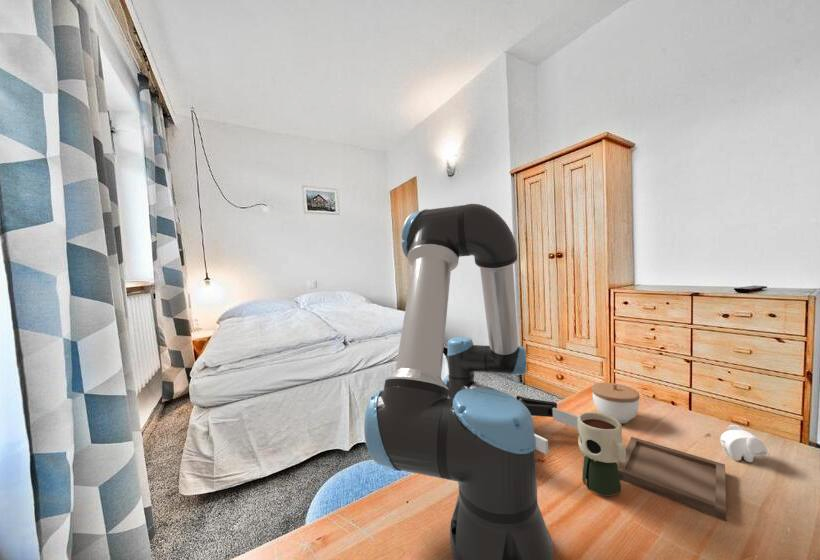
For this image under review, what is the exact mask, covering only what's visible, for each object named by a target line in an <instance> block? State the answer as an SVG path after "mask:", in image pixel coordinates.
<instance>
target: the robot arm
mask: <svg viewBox="0 0 820 560" xmlns="http://www.w3.org/2000/svg"><path fill="white" fill-rule="evenodd" d="M401 238H402V240H401V249H402V252H403V254H404V256H405V258H407V261H408V263H409V264H410V265H411V266H412V268H411V275H410V279H409V280H410V281H409V284H408V285H409V286H408V293H407V298H406V304H405V305H406V306H405V309H404V310H405V311H404V317H403V321H402V330H401V335H400V339H399V346H398V352H397V358H396V364H395V370H394V372H393V373H391V374H389V376H387V377H386V378H385V380H384V386H383V389H381V390H378V391H376V392H374V393H373V394H372V395H371V396H370V400H369V401H368V402H367V405H366V409H365V415H364V421H363V422H364V427H363V430H364V431H363V432H364V440H365V445H366V447H367V451H368V454H369V456H370V457H371V459H372V460H373V462H375V463H376V464H377V465H380V466H383V467H387V468H391V469H393V470H394V471H396V472H402V471H403V472H407V473H408V472H409V473H414V474H418V475H424V476H427V477H434V478H437V479H444V480H450V481H453V482H457V483H458V495H457V499H456V503H455V506H454V509H453V513H452V517H451V520H450V526H449V535H450V539H449V540H450V549H451V554H452V556H453V557H452V558H453V559H455V560H554V553H553V542H552V539H551V535H550V533H549V531H548V528H547V526H546V522H545V519H544V517H543V514H542V512H541V509H540V506H539V504H538V488H537V487H538V485H537V484H538V482H537V472H536V471H537V470H536V452H535V450H536V451H538V452H541V453H542V454H545V455H548V454H549V440H548V439H546V437H543V436H540V435H538V434H537V433H535V430H534V420H533V416H534V417H544V418H547V417H548V418H549V417H550V418H552V420H553V421H557V422H559V423H561V424H564V425H566V426H569V427H571V428H574V429H576V430H578V426H577V419H578V416H579V415H577V414H574V413H572V412H571V413H570V412H568V411H565V410H562V409H559V408H558V403H557V402H556V401H555V402H554V401H548V400H540V399H533V398H528V397H523V396H520V395H517V396H516V397H515V396H513V395H511V394H509V393H508V392H504V391H500V390H499V389H496V388H493V387H490V386H487V385H485V384H482V383H479V382H477V381H475V373H492V374H503V375H525V374H526V373H527V370H528V369H527V368H528V367H527V366H528V365H527V364H528V363H527V349H526V348H525V347H523V346H519V338H518V323H517V321H518V320H517V306H516V305H517V304H516V292H515V291H516V290H515V275H514V264H515V263H516V262H517V260H518V248H517V243H516V239H515V236H514V234H513V232H512V230H511V228H510V227H509V225H508V224H507V222H506V221H505V220H504V219H503V217H502V216H501V215H499V213H497V212H496V211H495V210H493V208H492V209H491V208H490V207H488V206H487V205H483V204H479V203H468V204H462V205H461V204H460V205H455V206H454V205H453V206H447V207H445V206H444V207H437V208H430V209H428V208H426V209H425V208H424V209H422V210H420V211H414V212H412V213H410V214H409V215H408V216H407V217H406V219H405V221H404V222H403V225H402V229H401ZM469 256H473V258H474V264H475V265H476V266H477V267H479V269H480V278H481V287H482V293H483V294H482V296H483V303H484V311H485V319H486V320H485V321H486V328H487V337H488V345H482V344H481V345H479V344H478V345H477V344H474V342H473V339H472V338H470V337H465V336H456V337H451V338H449V340H448V341H447V354H446V356H447V366H448V374H447V375H446V376H444V378H443V379H442V370H443V359H444V347H445V337H446V326H447V318H448V317H447V316H448V305H449V297H450V296H449V294H450V293H449V292H450V284H451V283H450V282H451V272H452V271H454V270H455V269H456V268H457V267H458V265H459V262H460V261H459V259H460V258H461V257H469Z"/></svg>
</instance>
